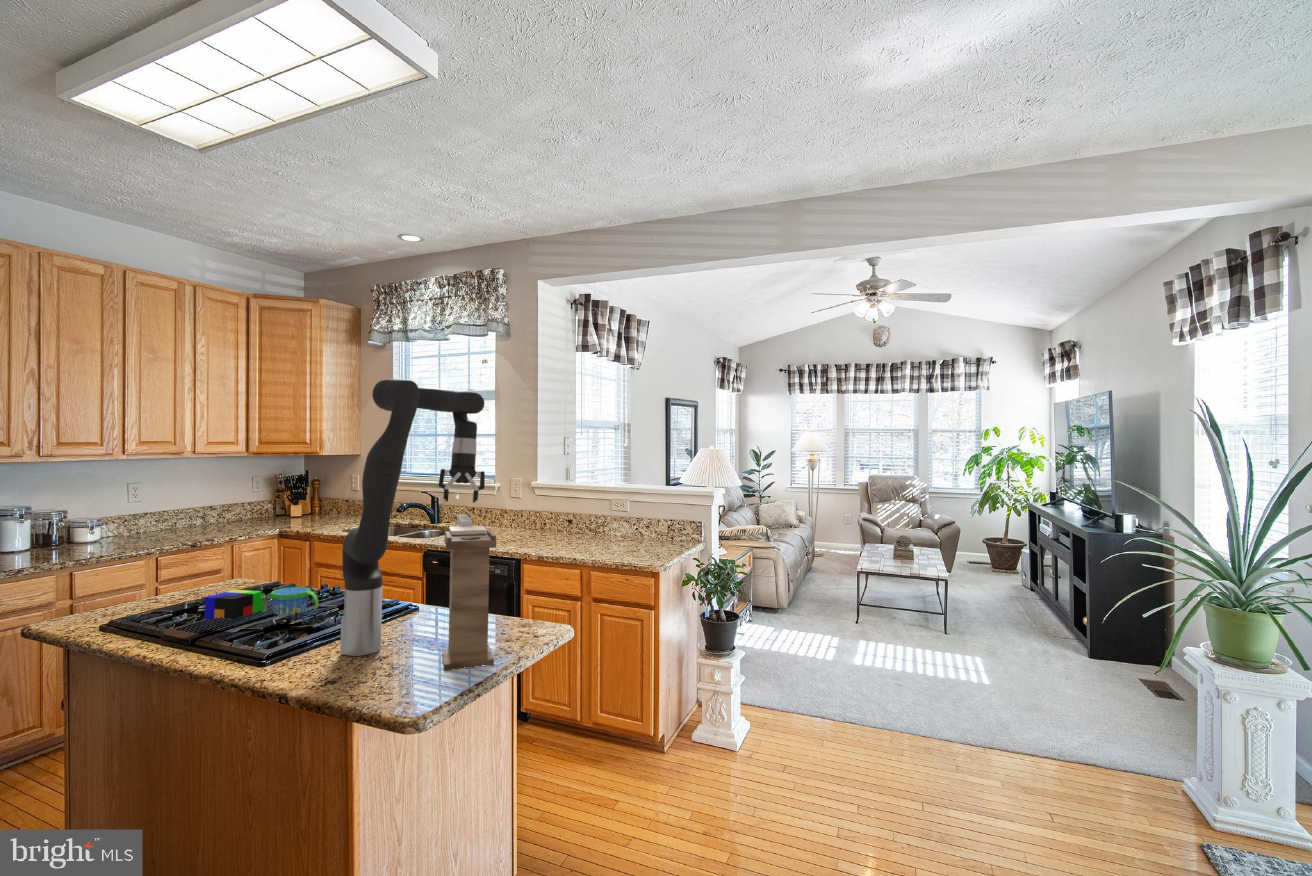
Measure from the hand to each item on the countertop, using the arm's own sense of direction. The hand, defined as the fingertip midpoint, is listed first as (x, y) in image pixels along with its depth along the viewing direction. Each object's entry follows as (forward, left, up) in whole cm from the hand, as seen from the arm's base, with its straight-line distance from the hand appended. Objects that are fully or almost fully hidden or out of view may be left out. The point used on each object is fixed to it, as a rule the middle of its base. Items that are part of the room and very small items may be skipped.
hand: (460, 501), depth 194 cm
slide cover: (+5, -23, -6) cm, 24 cm away
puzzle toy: (-66, -1, -38) cm, 76 cm away
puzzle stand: (+8, -40, -38) cm, 56 cm away
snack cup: (-51, +1, -38) cm, 63 cm away
